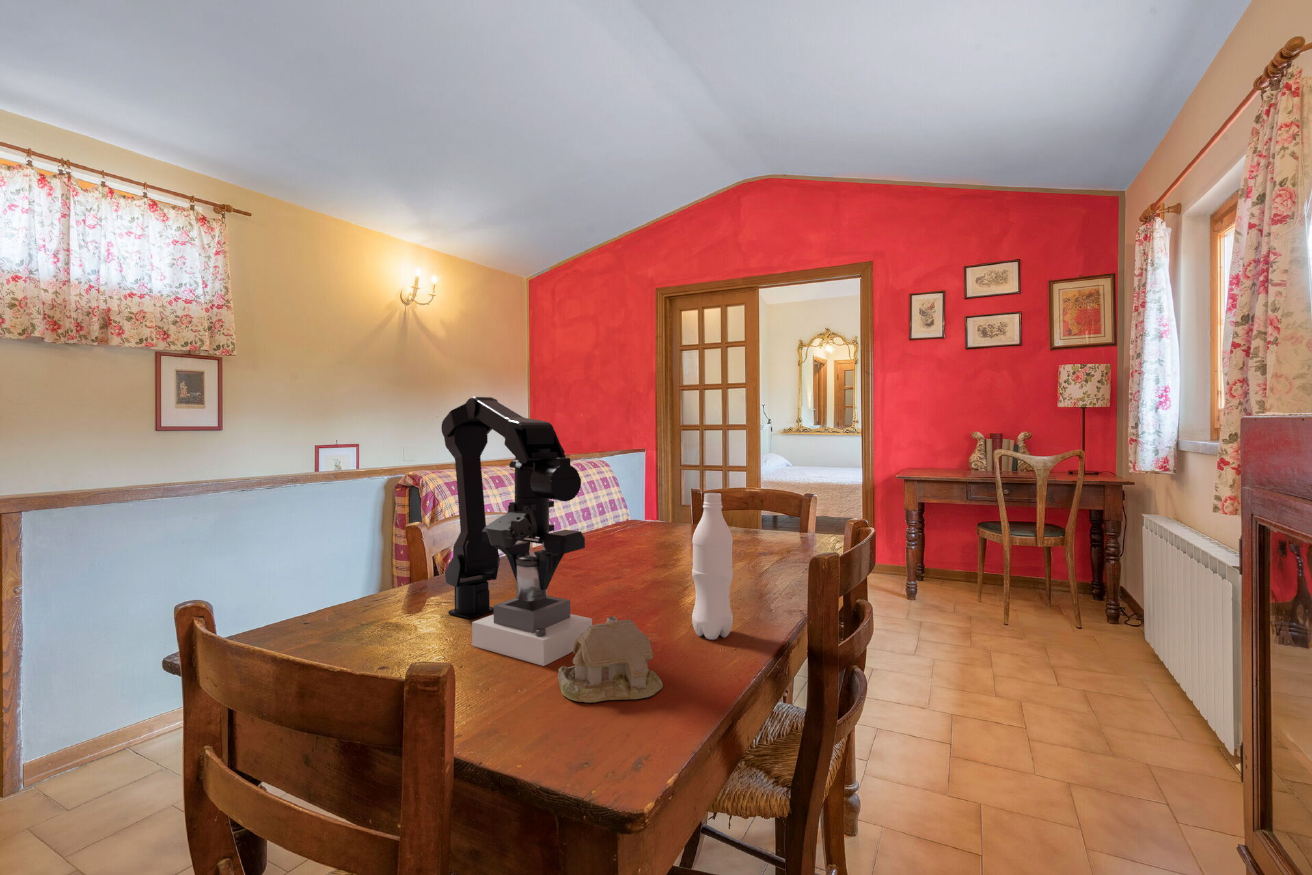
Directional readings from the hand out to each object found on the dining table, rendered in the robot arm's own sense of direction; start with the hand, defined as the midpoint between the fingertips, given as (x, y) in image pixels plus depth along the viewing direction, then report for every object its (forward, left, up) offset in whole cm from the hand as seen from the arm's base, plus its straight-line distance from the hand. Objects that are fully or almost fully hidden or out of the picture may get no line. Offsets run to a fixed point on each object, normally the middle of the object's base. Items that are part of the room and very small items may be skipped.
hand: (532, 587), depth 100 cm
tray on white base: (0, 0, -10) cm, 10 cm away
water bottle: (+24, +20, -10) cm, 33 cm away
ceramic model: (+21, -6, -10) cm, 24 cm away
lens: (0, 0, -2) cm, 2 cm away
